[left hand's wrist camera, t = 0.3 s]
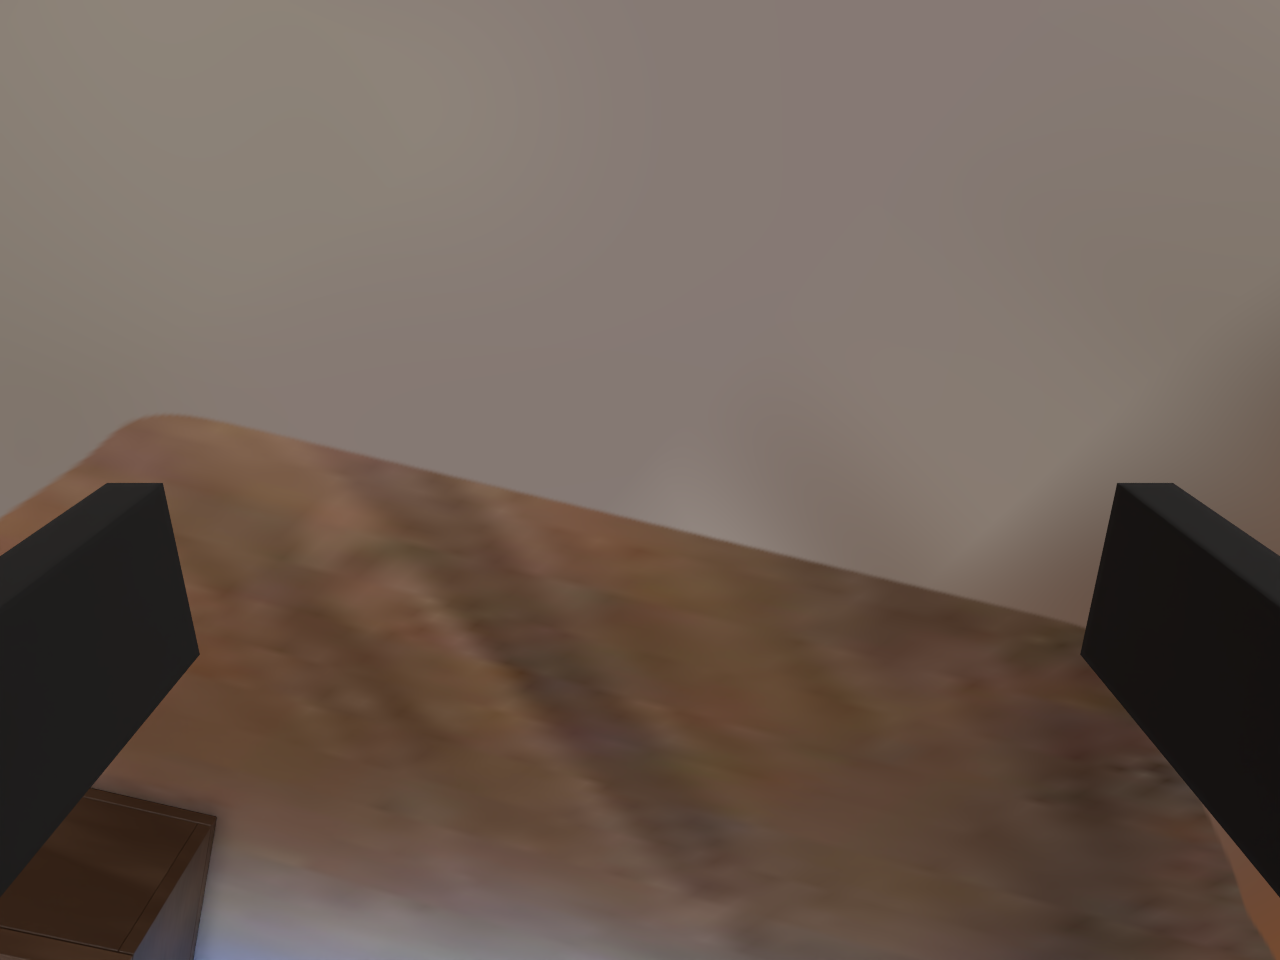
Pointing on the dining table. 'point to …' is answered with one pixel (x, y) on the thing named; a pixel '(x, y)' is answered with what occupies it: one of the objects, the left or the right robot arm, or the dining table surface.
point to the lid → (49, 949)
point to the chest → (117, 879)
